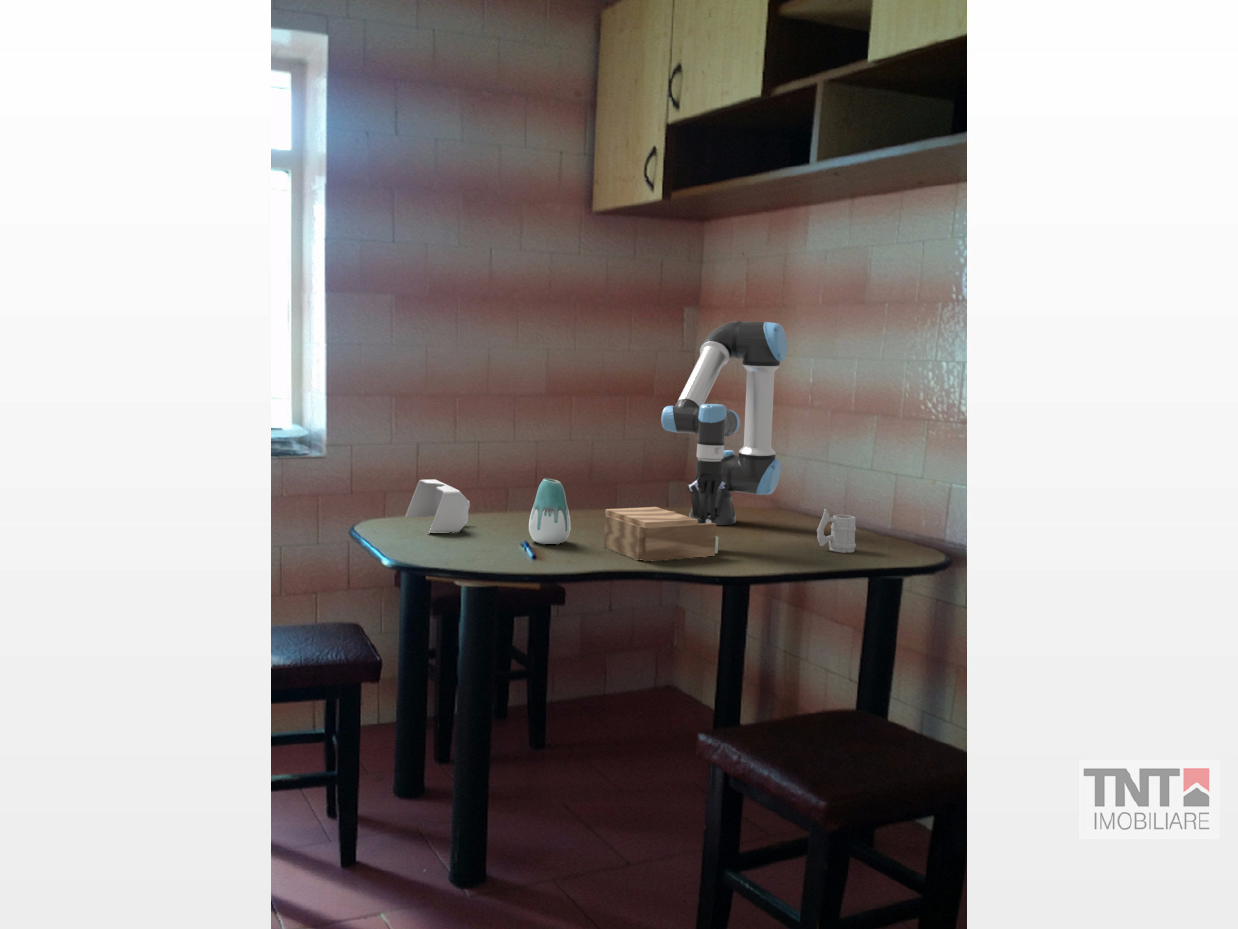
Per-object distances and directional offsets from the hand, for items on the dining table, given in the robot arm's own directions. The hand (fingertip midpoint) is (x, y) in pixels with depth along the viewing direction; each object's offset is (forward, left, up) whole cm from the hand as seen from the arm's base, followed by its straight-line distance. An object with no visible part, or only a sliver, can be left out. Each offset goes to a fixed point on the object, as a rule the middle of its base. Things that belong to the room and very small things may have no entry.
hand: (705, 542), depth 297 cm
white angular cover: (-52, -59, -2) cm, 78 cm away
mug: (+14, +36, -2) cm, 39 cm away
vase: (-20, -39, -2) cm, 44 cm away
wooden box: (0, -16, -2) cm, 16 cm away
